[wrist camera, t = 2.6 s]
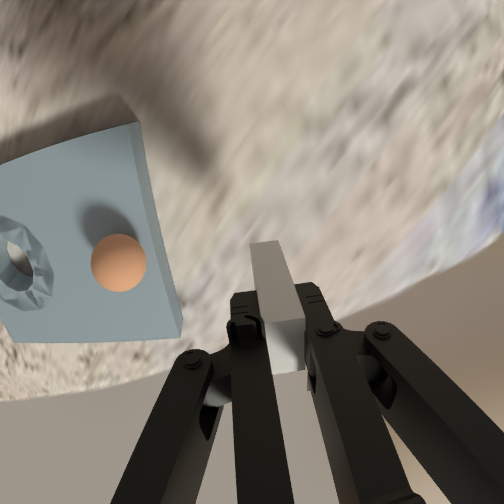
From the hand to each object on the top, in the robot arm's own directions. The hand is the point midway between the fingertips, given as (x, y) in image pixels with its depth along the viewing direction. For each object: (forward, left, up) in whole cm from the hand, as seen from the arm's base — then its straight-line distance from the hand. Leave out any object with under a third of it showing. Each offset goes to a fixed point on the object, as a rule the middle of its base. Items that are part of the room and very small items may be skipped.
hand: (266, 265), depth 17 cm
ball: (0, -9, -2) cm, 9 cm away
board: (0, -16, -6) cm, 17 cm away
